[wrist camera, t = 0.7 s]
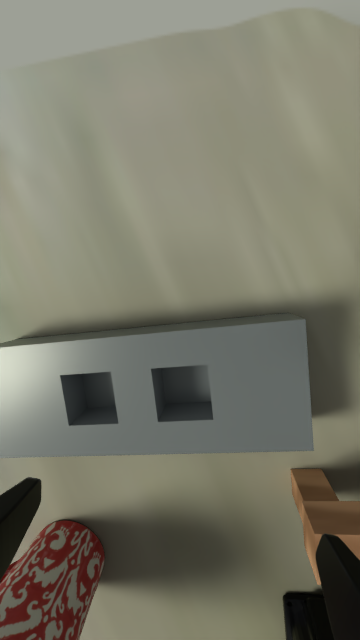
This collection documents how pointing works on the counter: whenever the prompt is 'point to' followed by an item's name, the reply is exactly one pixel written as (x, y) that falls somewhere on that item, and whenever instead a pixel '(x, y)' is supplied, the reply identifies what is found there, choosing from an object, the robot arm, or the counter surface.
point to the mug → (51, 585)
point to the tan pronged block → (324, 513)
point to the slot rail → (159, 390)
